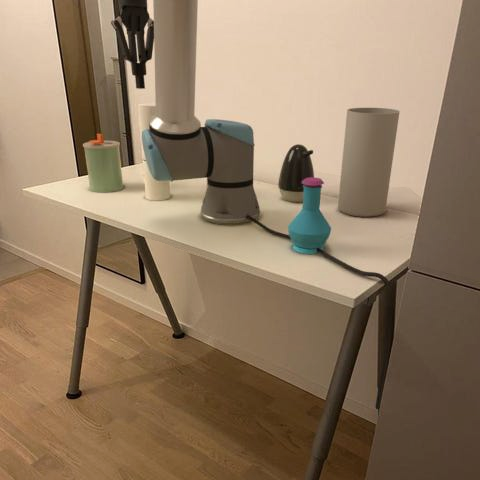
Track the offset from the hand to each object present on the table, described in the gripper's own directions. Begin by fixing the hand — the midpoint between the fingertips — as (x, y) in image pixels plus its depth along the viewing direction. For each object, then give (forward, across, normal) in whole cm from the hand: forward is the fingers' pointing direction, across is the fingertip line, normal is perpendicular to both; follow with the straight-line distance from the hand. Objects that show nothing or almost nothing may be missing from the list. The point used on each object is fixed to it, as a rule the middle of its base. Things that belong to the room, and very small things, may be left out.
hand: (140, 88), depth 144 cm
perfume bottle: (+29, -6, +68) cm, 75 cm away
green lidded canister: (+28, +12, -6) cm, 31 cm away
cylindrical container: (+28, +3, +12) cm, 31 cm away
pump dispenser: (+29, -28, +37) cm, 55 cm away
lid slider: (+14, +13, -6) cm, 20 cm away
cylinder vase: (+29, -36, +55) cm, 72 cm away
